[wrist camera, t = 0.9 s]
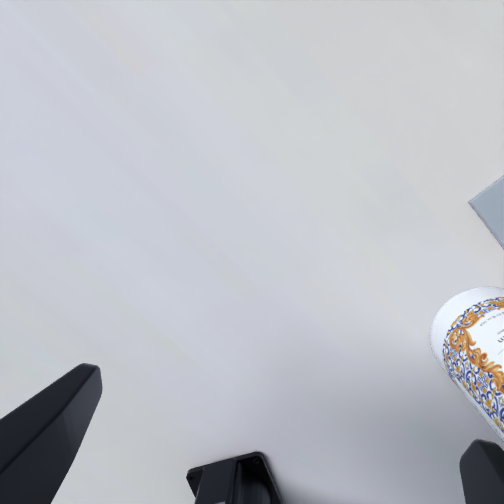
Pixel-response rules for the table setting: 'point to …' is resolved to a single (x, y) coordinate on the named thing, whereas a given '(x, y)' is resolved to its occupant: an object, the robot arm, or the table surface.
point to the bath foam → (474, 349)
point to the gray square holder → (492, 208)
